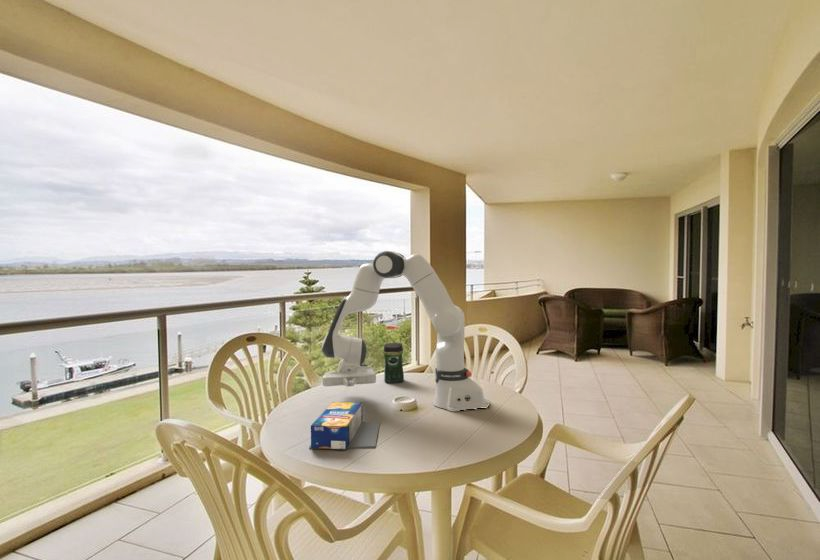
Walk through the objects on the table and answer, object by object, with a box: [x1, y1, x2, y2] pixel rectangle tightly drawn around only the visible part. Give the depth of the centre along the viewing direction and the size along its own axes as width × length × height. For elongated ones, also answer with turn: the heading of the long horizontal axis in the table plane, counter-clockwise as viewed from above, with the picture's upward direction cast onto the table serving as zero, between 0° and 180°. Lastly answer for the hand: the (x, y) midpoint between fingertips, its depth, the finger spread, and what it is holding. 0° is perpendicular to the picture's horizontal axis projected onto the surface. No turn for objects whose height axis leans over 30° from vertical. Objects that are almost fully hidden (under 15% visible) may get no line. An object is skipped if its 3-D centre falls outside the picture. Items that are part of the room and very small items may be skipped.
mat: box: [309, 420, 381, 450], centre depth 126 cm, size 20×19×1 cm
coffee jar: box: [383, 342, 405, 384], centre depth 185 cm, size 10×8×19 cm
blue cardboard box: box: [310, 401, 364, 450], centre depth 126 cm, size 7×11×22 cm
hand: (350, 384), depth 141 cm, fingers closed
